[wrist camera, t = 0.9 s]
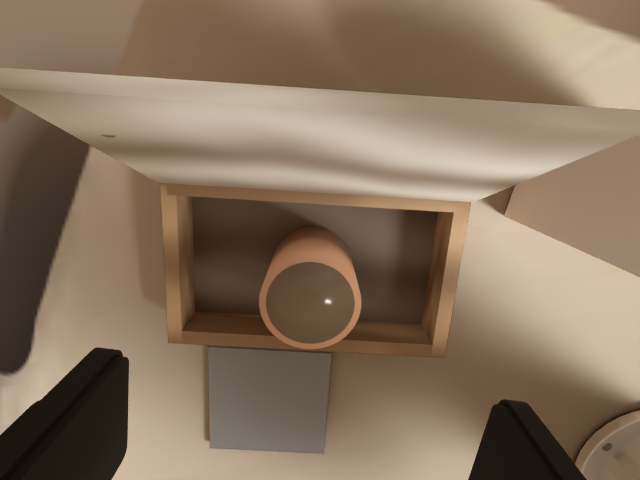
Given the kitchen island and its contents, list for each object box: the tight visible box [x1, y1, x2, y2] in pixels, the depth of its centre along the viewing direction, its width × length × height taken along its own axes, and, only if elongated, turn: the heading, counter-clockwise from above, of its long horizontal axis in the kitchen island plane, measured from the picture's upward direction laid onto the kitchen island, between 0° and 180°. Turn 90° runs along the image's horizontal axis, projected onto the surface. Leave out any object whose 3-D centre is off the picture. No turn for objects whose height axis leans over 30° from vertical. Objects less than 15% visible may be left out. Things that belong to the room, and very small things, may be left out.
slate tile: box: [208, 345, 332, 454], centre depth 33 cm, size 10×10×1 cm
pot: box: [259, 226, 361, 349], centre depth 26 cm, size 6×6×7 cm
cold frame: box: [0, 67, 640, 358], centre depth 21 cm, size 16×20×16 cm
